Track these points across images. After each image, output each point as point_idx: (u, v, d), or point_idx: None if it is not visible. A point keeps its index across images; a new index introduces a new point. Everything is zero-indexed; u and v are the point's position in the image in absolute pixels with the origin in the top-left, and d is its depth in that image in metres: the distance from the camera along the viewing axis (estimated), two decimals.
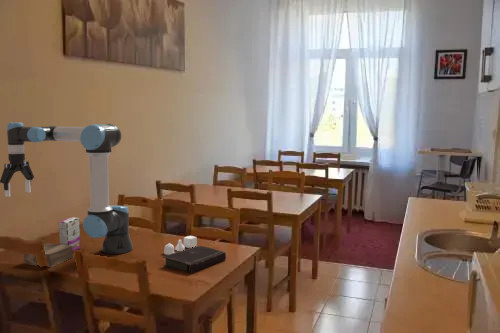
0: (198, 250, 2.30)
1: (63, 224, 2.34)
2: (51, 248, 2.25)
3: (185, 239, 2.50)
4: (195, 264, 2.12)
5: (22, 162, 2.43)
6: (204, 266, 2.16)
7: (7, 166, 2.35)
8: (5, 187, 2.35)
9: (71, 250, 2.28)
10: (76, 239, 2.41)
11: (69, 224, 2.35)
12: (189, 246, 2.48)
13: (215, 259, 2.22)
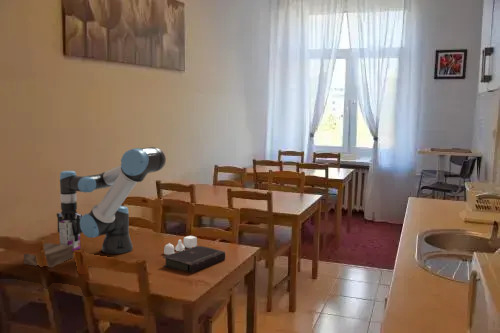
0: (197, 250, 2.30)
1: (63, 224, 2.34)
2: (51, 248, 2.25)
3: (185, 239, 2.49)
4: (196, 264, 2.12)
5: (72, 212, 2.37)
6: (204, 266, 2.17)
7: None
8: None
9: (71, 250, 2.28)
10: None
11: (69, 224, 2.35)
12: (189, 246, 2.48)
13: (215, 258, 2.23)
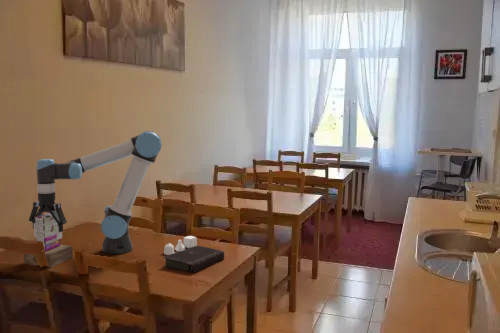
0: (196, 250, 2.30)
1: (39, 219, 2.17)
2: None
3: (185, 239, 2.49)
4: (197, 264, 2.12)
5: (49, 203, 2.20)
6: (205, 265, 2.17)
7: None
8: None
9: (71, 250, 2.28)
10: (54, 236, 2.25)
11: (46, 219, 2.18)
12: (189, 246, 2.48)
13: (215, 258, 2.24)
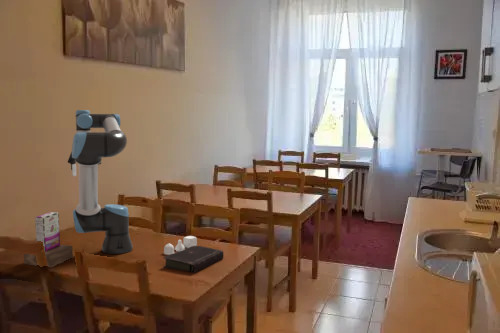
0: (195, 250, 2.30)
1: (39, 219, 2.17)
2: None
3: (185, 239, 2.49)
4: (197, 264, 2.12)
5: None
6: (205, 265, 2.17)
7: None
8: None
9: (71, 250, 2.28)
10: (54, 236, 2.25)
11: (46, 219, 2.18)
12: (189, 246, 2.48)
13: (214, 258, 2.24)
